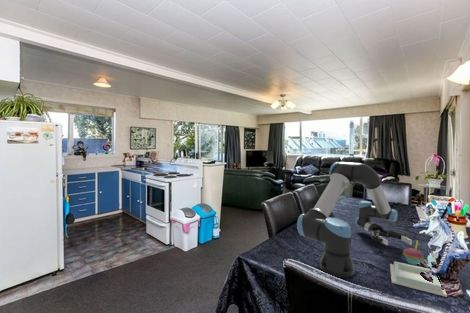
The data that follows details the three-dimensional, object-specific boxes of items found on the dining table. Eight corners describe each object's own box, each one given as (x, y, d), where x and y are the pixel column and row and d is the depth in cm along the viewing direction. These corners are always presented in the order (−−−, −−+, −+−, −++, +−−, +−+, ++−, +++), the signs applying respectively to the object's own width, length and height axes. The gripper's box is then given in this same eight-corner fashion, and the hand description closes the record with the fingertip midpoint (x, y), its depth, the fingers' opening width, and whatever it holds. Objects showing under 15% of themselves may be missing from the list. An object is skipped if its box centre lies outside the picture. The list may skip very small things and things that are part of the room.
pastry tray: (391, 282, 101) (392, 275, 101) (390, 265, 116) (390, 259, 116) (447, 297, 91) (447, 289, 91) (437, 275, 107) (437, 269, 106)
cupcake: (414, 259, 123) (415, 236, 122) (428, 267, 114) (429, 243, 114) (398, 259, 123) (399, 236, 122) (411, 267, 114) (412, 243, 114)
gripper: (392, 234, 150) (420, 249, 129) (354, 235, 148) (377, 249, 127) (392, 223, 150) (421, 235, 128) (355, 223, 148) (377, 236, 127)
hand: (399, 242), depth 128 cm, fingers open, 13 cm apart
